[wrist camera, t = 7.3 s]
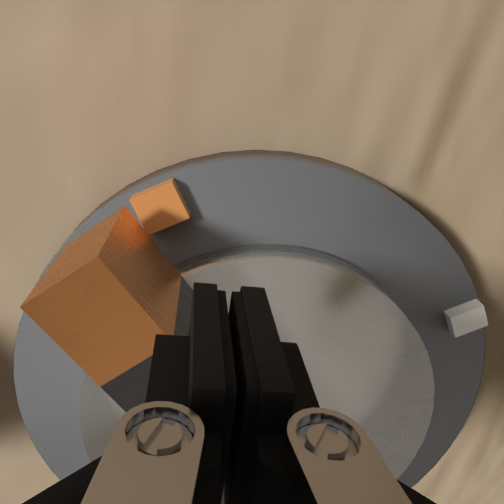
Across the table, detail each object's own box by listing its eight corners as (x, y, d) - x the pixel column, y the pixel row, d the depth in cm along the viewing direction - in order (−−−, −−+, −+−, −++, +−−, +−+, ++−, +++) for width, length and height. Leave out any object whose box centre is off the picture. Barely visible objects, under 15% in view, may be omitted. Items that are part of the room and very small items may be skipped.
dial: (468, 422, 22) (545, 535, 17) (215, 552, 24) (215, 687, 19) (275, 95, 16) (305, 119, 10) (-46, 311, 18) (-148, 417, 13)
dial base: (156, 557, 27) (151, 606, 25) (-68, 266, 19) (-107, 297, 17) (496, 437, 26) (526, 477, 23) (402, 65, 18) (432, 68, 15)
